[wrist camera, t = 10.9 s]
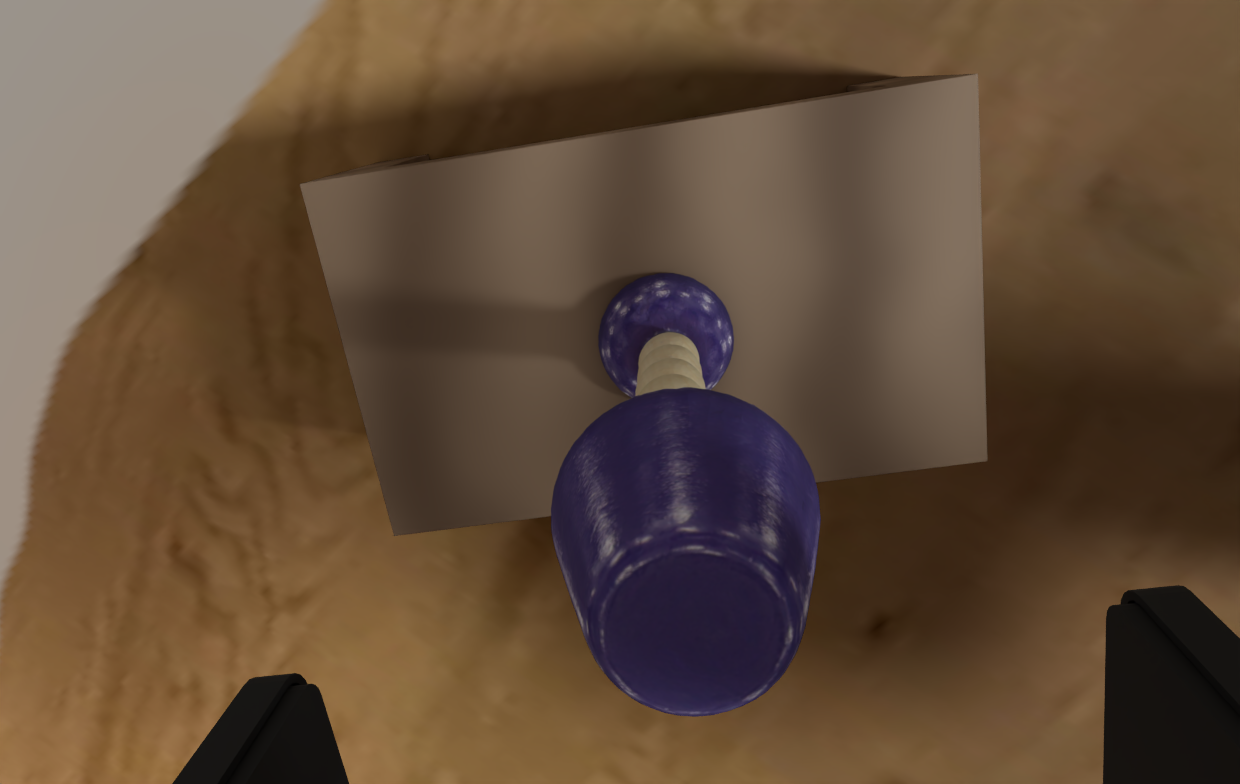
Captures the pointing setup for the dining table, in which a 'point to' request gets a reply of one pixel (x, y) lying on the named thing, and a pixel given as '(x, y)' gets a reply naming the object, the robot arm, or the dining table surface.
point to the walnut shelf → (666, 243)
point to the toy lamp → (684, 513)
